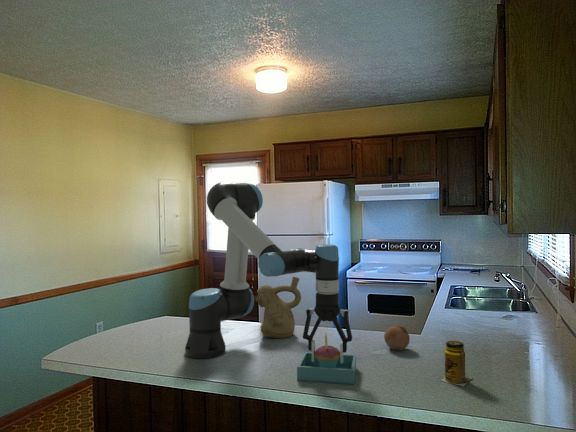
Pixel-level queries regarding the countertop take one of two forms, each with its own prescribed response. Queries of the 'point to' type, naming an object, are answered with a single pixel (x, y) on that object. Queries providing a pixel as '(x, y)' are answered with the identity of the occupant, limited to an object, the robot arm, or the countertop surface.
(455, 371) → the condiment
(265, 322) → the ceramic vessel
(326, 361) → the cupcake
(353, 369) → the tub
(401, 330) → the onion
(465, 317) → the countertop surface
